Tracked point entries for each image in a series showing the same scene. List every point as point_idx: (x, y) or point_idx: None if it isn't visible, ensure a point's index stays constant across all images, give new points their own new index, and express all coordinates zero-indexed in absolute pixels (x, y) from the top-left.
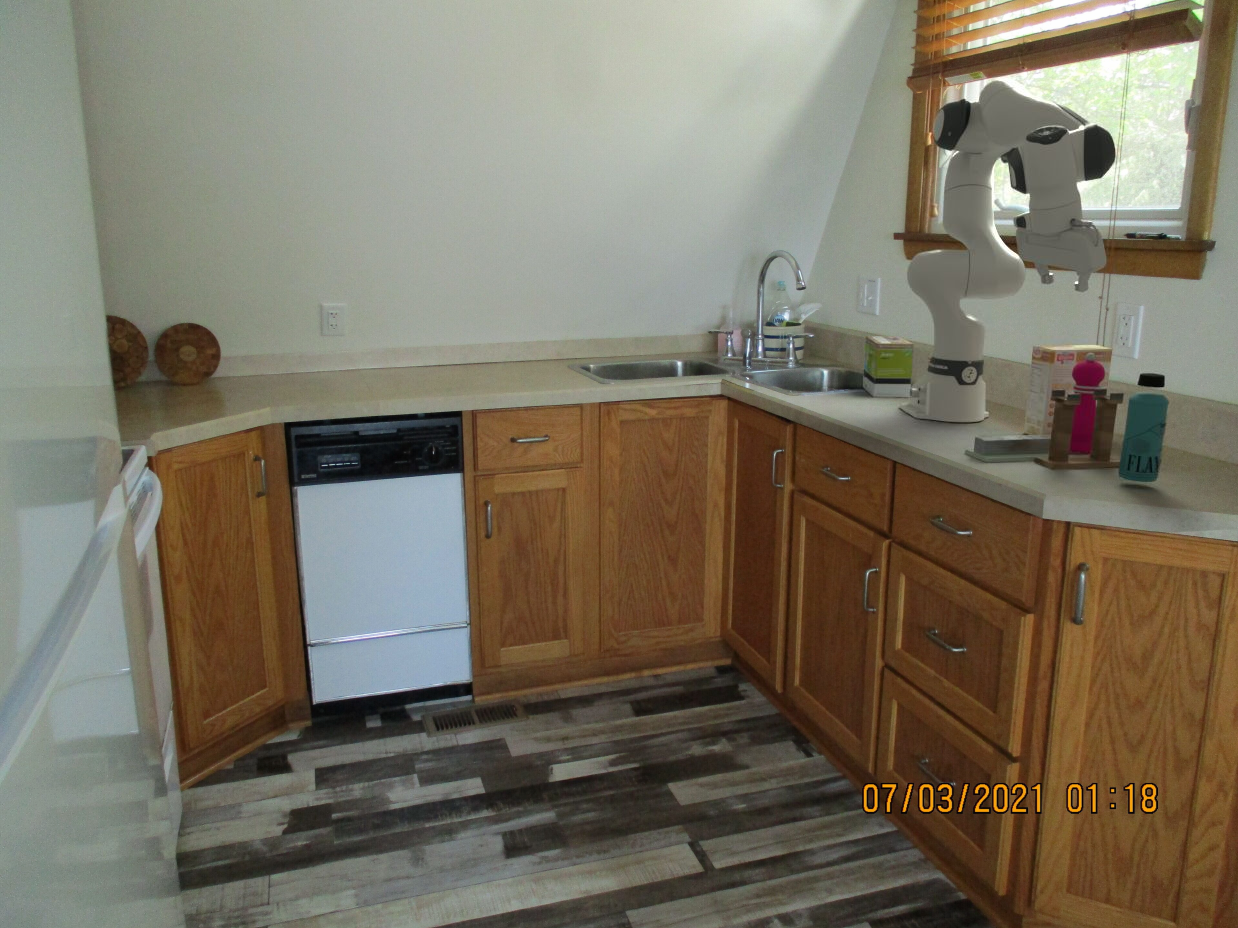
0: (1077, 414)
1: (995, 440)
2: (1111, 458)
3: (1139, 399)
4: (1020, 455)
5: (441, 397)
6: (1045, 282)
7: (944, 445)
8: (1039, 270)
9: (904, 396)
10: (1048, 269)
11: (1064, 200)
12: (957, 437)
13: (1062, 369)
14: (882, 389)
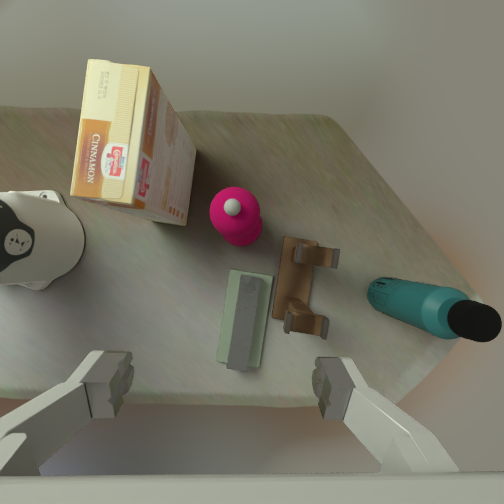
0: (245, 238)
1: (248, 358)
2: (302, 242)
3: (455, 337)
4: (258, 323)
5: None
6: (124, 390)
7: (178, 354)
8: (51, 455)
9: None
10: (58, 403)
11: None
12: (147, 312)
13: (153, 188)
14: None
